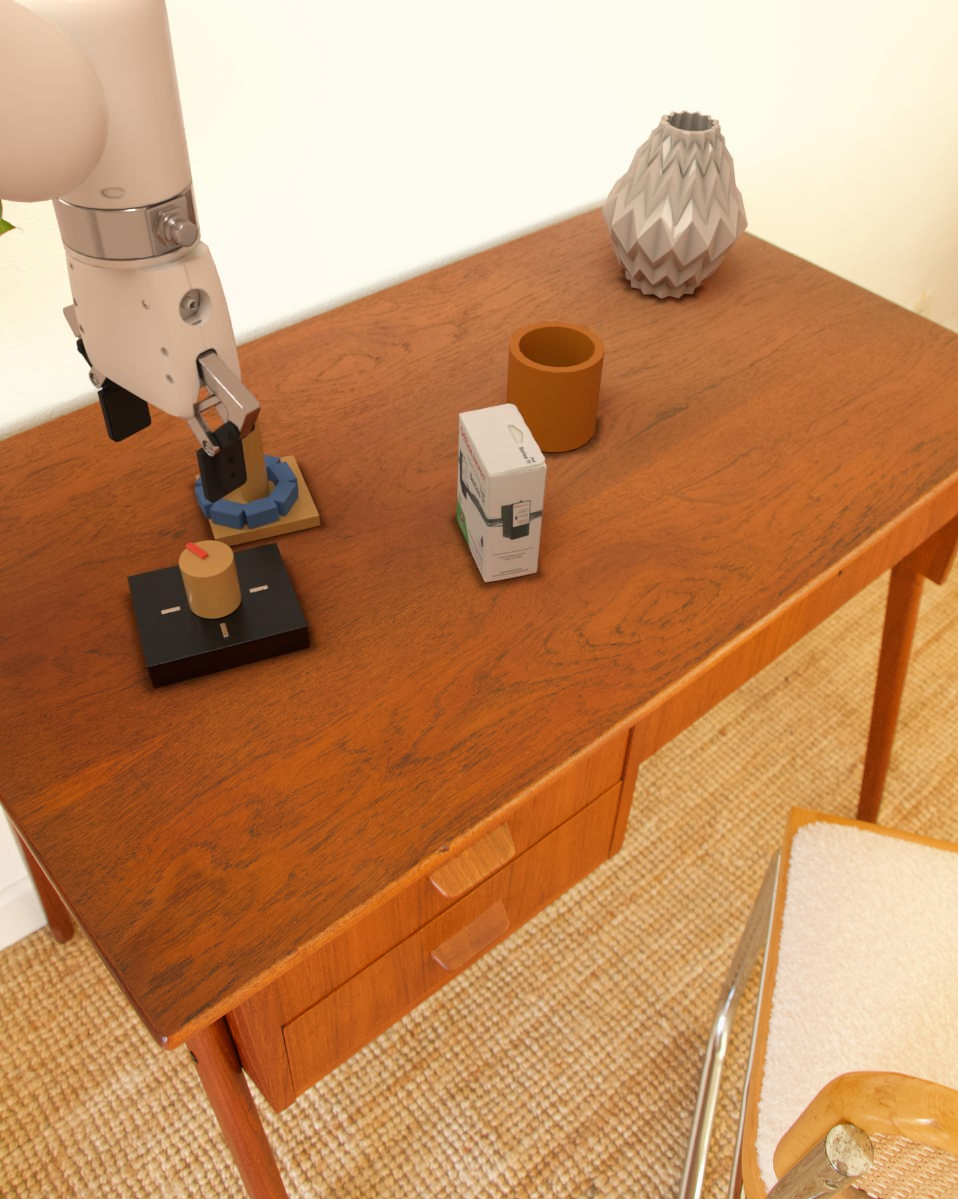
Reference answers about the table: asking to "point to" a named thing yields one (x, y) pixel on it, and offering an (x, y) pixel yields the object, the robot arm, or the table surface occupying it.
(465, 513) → the ink box
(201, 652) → the black dial base plate
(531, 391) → the mug
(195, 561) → the rotary dial knob
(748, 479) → the table surface
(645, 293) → the vase
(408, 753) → the table surface
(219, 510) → the segmented ring
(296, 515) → the wooden peg stand
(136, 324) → the robot arm
